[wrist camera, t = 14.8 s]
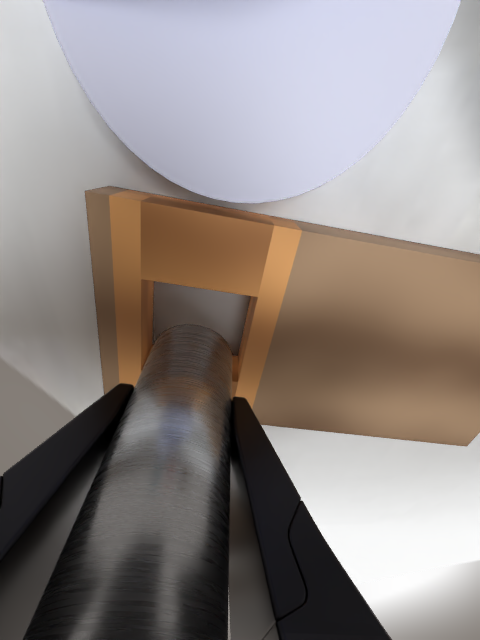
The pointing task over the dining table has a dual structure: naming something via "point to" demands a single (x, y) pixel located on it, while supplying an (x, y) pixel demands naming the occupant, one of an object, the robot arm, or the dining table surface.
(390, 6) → the wedge on round base
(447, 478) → the dining table surface
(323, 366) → the brown flat rectangular block
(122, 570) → the metal peg
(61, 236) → the dining table surface
